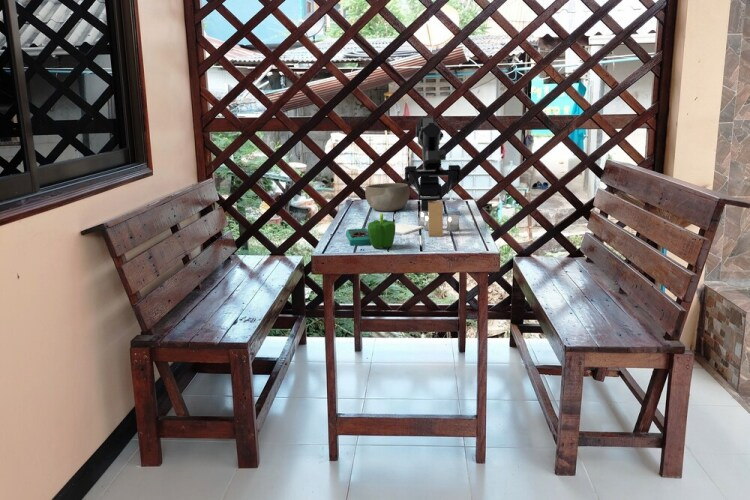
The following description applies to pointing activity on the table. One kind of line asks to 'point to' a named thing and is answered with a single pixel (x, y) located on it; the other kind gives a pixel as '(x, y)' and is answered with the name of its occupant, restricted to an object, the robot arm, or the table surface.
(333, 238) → the table surface
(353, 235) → the digital multimeter
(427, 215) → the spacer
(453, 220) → the cylinder
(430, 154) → the robot arm
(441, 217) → the tan tall block
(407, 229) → the white mat
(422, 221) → the cylinder
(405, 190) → the bowl
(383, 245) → the bell pepper
